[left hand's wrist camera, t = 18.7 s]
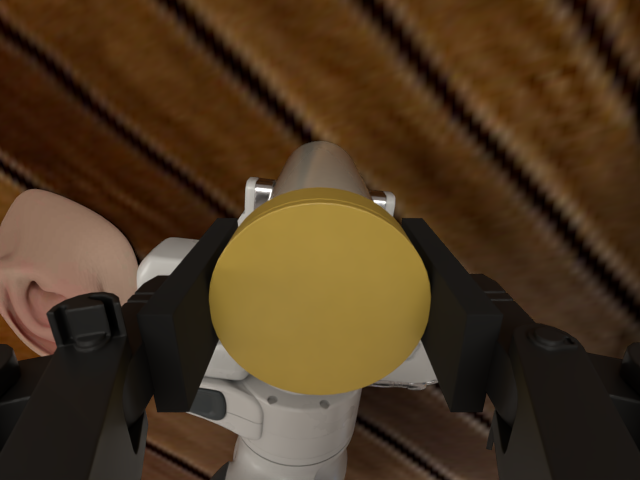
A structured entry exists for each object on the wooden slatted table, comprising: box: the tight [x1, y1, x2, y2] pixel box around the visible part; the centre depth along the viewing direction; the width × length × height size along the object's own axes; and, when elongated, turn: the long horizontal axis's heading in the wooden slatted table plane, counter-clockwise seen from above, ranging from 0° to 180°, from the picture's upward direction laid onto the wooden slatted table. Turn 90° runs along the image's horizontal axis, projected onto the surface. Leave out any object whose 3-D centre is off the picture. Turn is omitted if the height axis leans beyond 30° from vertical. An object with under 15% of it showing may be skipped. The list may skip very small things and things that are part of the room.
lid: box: [209, 187, 431, 395], centre depth 11 cm, size 6×6×2 cm
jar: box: [266, 141, 374, 202], centre depth 19 cm, size 5×5×17 cm
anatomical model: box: [0, 189, 138, 356], centre depth 27 cm, size 13×4×12 cm
